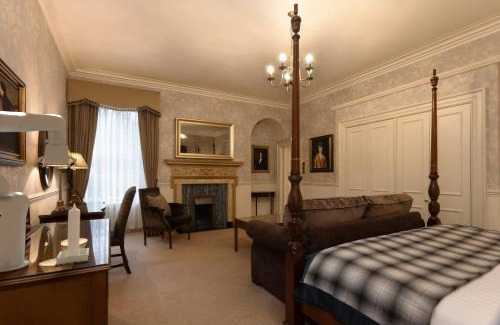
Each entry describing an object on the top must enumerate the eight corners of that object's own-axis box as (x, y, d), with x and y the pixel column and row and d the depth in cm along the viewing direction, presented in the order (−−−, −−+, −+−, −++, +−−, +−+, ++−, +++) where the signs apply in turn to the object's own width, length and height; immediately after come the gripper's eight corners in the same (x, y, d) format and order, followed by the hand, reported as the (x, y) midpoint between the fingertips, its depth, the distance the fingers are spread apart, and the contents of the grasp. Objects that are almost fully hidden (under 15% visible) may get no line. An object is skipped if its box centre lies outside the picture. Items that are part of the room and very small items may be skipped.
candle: (60, 259, 121) (61, 203, 122) (76, 254, 127) (77, 202, 128) (69, 261, 118) (70, 204, 119) (85, 257, 124) (86, 203, 125)
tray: (87, 261, 120) (87, 254, 120) (56, 265, 115) (56, 258, 115) (88, 254, 131) (89, 247, 131) (60, 257, 125) (60, 251, 125)
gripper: (34, 140, 132) (34, 175, 131) (76, 142, 140) (76, 175, 140) (37, 142, 138) (37, 175, 138) (77, 143, 147) (77, 174, 146)
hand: (56, 175), depth 139 cm, fingers open, 9 cm apart
